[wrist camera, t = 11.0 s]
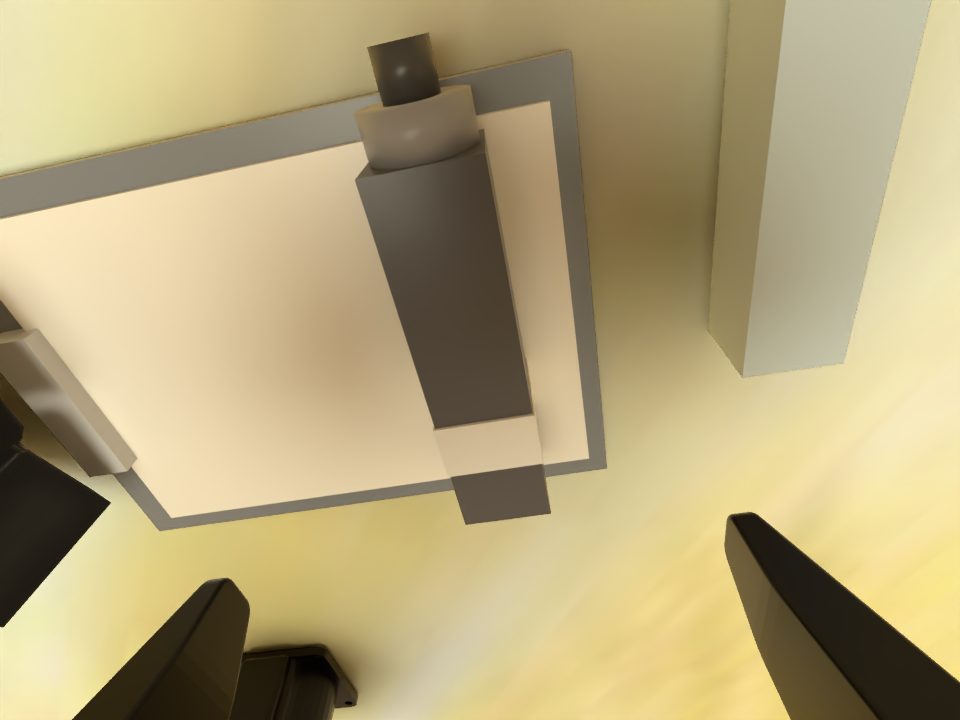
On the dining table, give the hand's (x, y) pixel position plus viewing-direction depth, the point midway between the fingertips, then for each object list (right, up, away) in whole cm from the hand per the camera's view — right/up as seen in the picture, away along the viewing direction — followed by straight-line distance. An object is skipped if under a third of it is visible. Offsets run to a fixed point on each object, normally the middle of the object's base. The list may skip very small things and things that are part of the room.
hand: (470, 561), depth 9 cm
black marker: (0, +6, +7) cm, 9 cm away
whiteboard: (-6, +4, +10) cm, 12 cm away
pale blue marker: (+9, +11, +5) cm, 15 cm away
